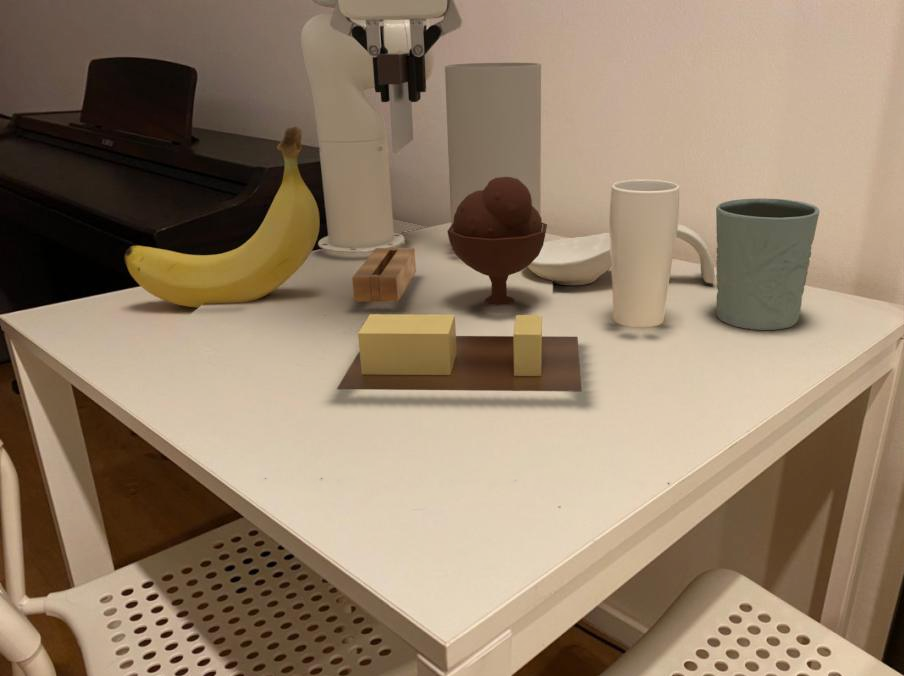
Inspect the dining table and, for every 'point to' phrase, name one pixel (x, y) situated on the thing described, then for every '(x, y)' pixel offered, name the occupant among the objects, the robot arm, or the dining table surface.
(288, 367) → the dining table surface
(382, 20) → the robot arm
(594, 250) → the spoon rest
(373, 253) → the knife block
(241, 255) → the banana
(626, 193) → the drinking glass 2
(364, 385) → the board
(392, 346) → the butter
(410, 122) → the knife
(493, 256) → the ice cream bowl
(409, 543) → the dining table surface
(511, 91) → the cylinder vase
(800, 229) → the green cup
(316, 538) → the dining table surface
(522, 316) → the butter slice
